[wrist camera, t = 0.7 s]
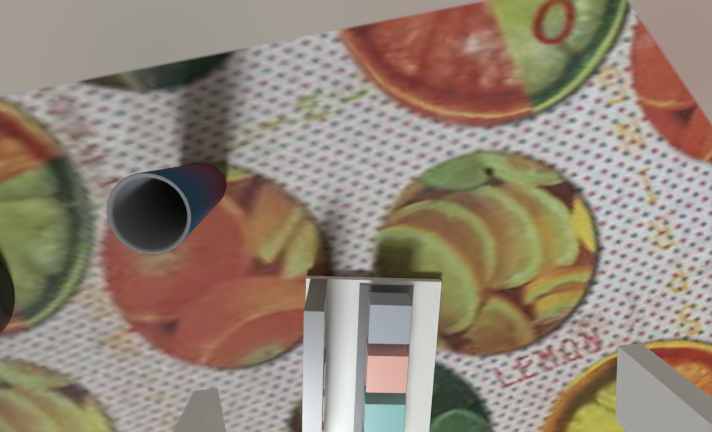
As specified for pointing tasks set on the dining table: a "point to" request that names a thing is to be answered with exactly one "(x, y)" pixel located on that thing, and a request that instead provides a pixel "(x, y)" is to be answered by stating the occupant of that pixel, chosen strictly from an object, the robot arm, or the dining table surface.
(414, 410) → the keypad
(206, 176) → the cup
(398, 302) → the slate key
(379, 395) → the teal key
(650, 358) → the robot arm
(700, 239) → the dining table surface
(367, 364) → the coral key
